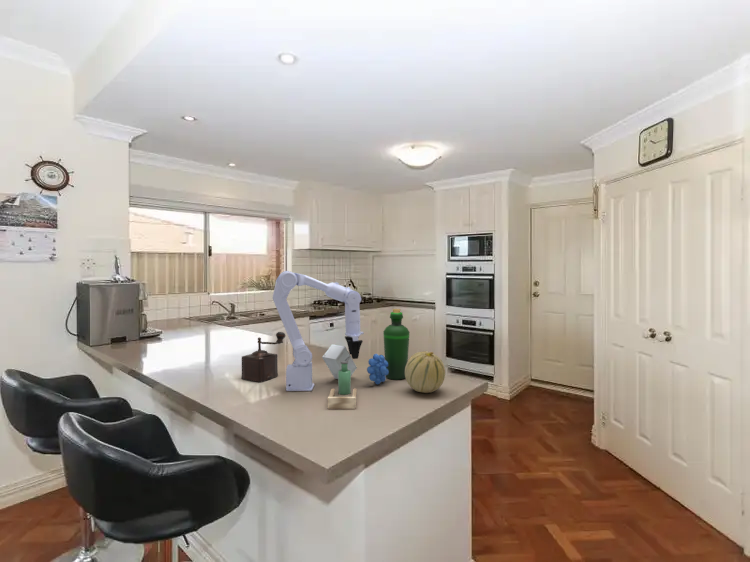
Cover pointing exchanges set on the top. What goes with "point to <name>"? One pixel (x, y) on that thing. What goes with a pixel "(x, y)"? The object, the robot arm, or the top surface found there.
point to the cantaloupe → (425, 372)
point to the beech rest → (342, 401)
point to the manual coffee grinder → (261, 363)
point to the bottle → (396, 346)
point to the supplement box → (338, 359)
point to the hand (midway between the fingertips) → (353, 356)
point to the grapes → (377, 368)
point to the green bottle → (344, 379)
